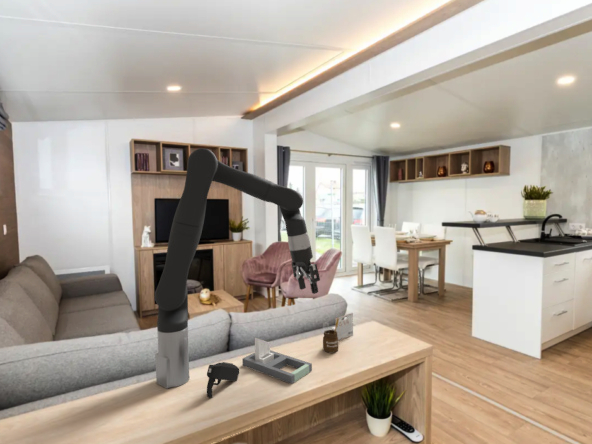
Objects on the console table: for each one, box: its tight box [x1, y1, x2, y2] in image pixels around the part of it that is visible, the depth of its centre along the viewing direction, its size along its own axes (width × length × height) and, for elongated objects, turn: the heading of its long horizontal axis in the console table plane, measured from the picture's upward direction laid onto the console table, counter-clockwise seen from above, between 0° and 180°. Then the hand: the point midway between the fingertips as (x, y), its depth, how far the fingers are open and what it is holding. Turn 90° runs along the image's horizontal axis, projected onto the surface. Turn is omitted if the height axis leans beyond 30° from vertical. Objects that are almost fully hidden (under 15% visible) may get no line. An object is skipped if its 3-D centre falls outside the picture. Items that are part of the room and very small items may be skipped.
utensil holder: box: [322, 317, 339, 354], centre depth 137 cm, size 6×6×12 cm
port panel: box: [242, 349, 313, 385], centre depth 122 cm, size 11×22×2 cm, turn 52°
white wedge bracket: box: [254, 337, 274, 364], centre depth 125 cm, size 4×10×9 cm, turn 143°
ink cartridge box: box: [330, 312, 354, 341], centre depth 150 cm, size 2×11×10 cm, turn 130°
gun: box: [206, 361, 240, 399], centre depth 110 cm, size 3×16×10 cm, turn 155°
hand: (309, 290), depth 126 cm, fingers open, 8 cm apart
